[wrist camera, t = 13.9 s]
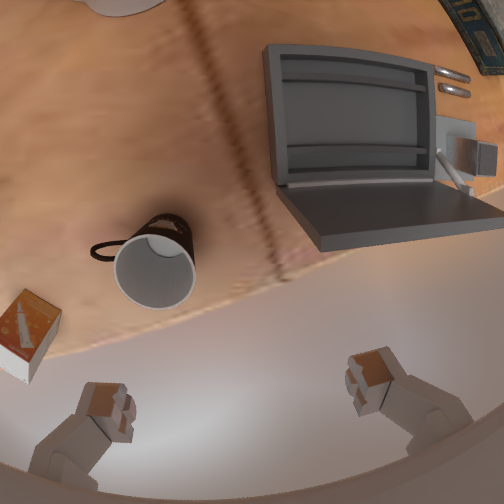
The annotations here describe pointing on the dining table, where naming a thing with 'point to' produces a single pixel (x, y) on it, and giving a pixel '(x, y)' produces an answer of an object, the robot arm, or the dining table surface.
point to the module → (472, 155)
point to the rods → (452, 75)
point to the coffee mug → (155, 263)
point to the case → (362, 149)
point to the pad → (443, 128)
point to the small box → (26, 334)
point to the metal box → (481, 31)
